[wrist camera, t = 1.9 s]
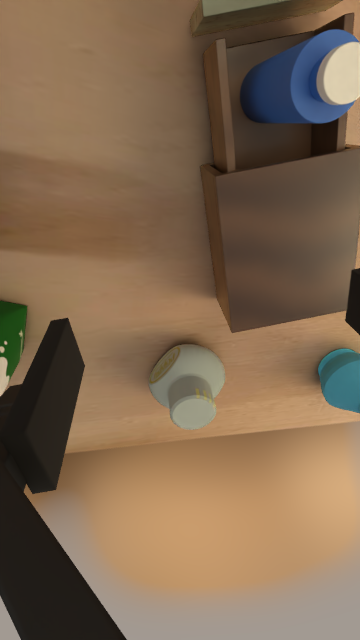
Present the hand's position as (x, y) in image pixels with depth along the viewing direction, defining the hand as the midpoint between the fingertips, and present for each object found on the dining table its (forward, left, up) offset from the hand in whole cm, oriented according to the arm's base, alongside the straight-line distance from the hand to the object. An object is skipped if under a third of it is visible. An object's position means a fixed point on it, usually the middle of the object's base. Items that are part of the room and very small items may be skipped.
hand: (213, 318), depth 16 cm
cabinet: (+5, +11, -27) cm, 30 cm away
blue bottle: (-9, +11, -25) cm, 29 cm away
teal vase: (+30, +22, -28) cm, 46 cm away
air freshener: (+24, -2, -28) cm, 36 cm away
